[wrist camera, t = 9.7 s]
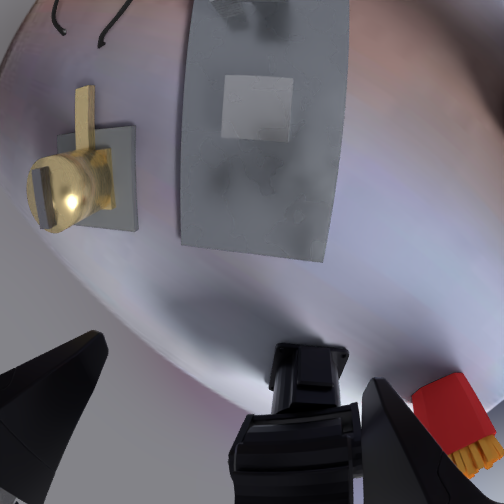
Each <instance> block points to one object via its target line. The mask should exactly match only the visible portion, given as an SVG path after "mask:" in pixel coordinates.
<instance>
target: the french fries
mask: <svg viewBox="0 0 504 504" xmlns="http://www.w3.org/2000/svg"><path fill="white" fill-rule="evenodd" d="M412 402H413V410H414V414H415V416H416V417H417V418H418V419H419V421H420V422H421V423H422V424H423V425H424V427H425V428H426V429H427V430H428V432H429V433H430V434H431V435H432V437H433V438H434V439H435V440H436V442H437V443H438V444H439V445H440V447H441V448H442V449H443V450H442V451H444V452H445V453H446V454H447V455H448V457H449V458H450V459H451V460H452V462H453V463H454V464H455V465H456V466H457V468H458V469H459V470H460V471H461V472H462V473H463V474H464V475H465V476H466V477H467V478H469V479H471V478H472V477H474V476H475V475H474V474H476V473H478V472H479V471H478V470H480V469H481V468H483V467H484V468H485V469H487V470H488V469H490V468H491V467H492V465H493V463H494V462H496V461H497V460H498V459H499V460H500V459H501V458H502V457H503V456H504V449H503V447H502V446H501V445H500V443H499V442H498V441H497V439H496V438H495V434H496V430H495V429H494V426H493V425H492V423H491V421H490V419H489V417H488V415H487V413H486V411H485V410H484V408H483V406H482V404H481V402H480V401H479V399H478V397H477V396H476V394H475V392H474V390H473V389H472V387H471V385H470V384H469V382H468V380H467V379H466V377H465V376H464V374H463V373H452V374H450V375H448V376H446V377H443V378H441V379H439V380H437V381H434V382H432V383H430V384H428V385H426V386H423V387H421V388H420V389H419V390H418V391H417V392H415V393H414V394H413V395H412Z"/></svg>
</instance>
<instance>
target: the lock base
mask: <svg viewBox="0 0 504 504" xmlns="http://www.w3.org/2000/svg"><path fill="white" fill-rule="evenodd" d="M348 52H349V0H194V4H193V11H192V18H191V25H190V33H189V41H188V50H187V60H186V71H185V83H184V96H183V113H182V133H181V170H180V214H181V245H185V246H193V247H201V248H209V249H217V250H225V251H232V252H240V253H248V254H256V255H264V256H272V257H280V258H288V259H296V260H304V261H312V262H320V263H323V259H324V254H325V249H326V243H327V238H328V232H329V227H330V221H331V215H332V209H333V202H334V196H335V189H336V182H337V175H338V168H339V160H340V152H341V143H342V134H343V124H344V114H345V102H346V89H347V73H348Z"/></svg>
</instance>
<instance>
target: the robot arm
mask: <svg viewBox="0 0 504 504" xmlns="http://www.w3.org/2000/svg"><path fill="white" fill-rule="evenodd" d="M280 348H283V349H280ZM342 354H344V355H342ZM107 356H108V347H107V343H106V341H105V337H104V335H103V333H101V332H99V331H96V330H91V331H89V332H87V333H85V334H83V335H81V336H79V337H77V338H75V339H73V340H70V341H69V342H66V343H64V344H62V345H60V346H58V347H56V348H54V349H52V350H50V351H48V352H46V353H44V354H42V355H40V356H38V357H36V358H34V359H32V360H30V361H28V362H25V363H24V364H21V365H20V366H17V367H16V368H13V369H11V370H9V371H7V372H5V373H3V374H1V375H0V504H18V502H17V501H16V500H17V498H18V499H20V500H22V501H23V502H25V503H27V504H44V501H45V498H46V496H47V492H48V490H49V488H50V485H51V482H52V480H53V478H54V475H55V472H56V470H57V467H58V465H59V463H60V460H61V458H62V456H63V454H64V451H65V449H66V446H67V445H68V442H69V440H70V438H71V436H72V434H73V431H74V429H75V427H76V425H77V423H78V421H79V419H80V417H81V415H82V413H83V411H84V409H85V407H86V405H87V403H88V401H89V398H90V397H91V395H92V393H93V391H94V388H95V386H96V384H97V381H98V379H99V376H100V374H101V371H102V368H103V366H104V364H105V361H106V359H107ZM348 357H349V352H348V350H347V349H338V348H326V347H315V346H305V345H295V344H286V343H279V344H277V345H276V349H275V355H274V360H273V366H272V371H271V377H270V382H269V390H271V391H274V394H273V402H272V410H271V414H268V415H254V414H248V415H247V416H246V418H245V420H244V422H243V424H242V426H241V428H240V431H239V433H238V435H237V437H236V439H235V441H234V443H233V446H232V448H231V450H230V452H229V455H228V456H229V459H228V465H229V470H230V475H231V478H232V480H233V483H234V491H235V504H353V478H361V477H363V490H364V504H504V503H498V502H495V501H493V500H491V499H489V498H488V497H486V496H485V495H484V494H483V493H482V492H481V491H480V490H479V489H478V488H477V487H476V486H475V485H474V484H473V483H472V482H471V481H470V480H469V479H468V478H467V477H466V476H465V475H464V474H463V473H462V472H461V471H460V470H459V469H458V468H457V466H456V465H455V464H454V463H453V462H452V460H451V459H450V458H449V457H448V455H447V454H446V453H445V452H444V451H442V450H443V449H442V448H441V447H440V445H439V444H438V443H437V442H436V440H435V439H434V438H433V437H432V435H431V434H430V433H429V432H428V430H427V429H426V428H425V427H424V425H423V424H422V423H421V422H420V421H419V419H418V418H417V417H416V416H415V414H414V413H413V412H412V411H411V409H410V408H409V407H408V406H407V405H406V403H405V402H404V401H403V400H402V398H401V397H400V396H399V395H398V394H397V392H396V391H395V390H394V389H393V388H392V386H391V385H390V384H389V383H388V382H387V380H386V379H385V378H378V377H374V378H372V379H371V380H370V382H369V384H368V385H367V387H366V389H365V391H364V393H363V396H362V424H361V423H360V416H359V409H358V403H357V402H355V403H351V404H350V405H344V406H341V402H340V390H339V378H340V376H341V374H342V372H343V369H344V367H345V365H346V362H347V360H348Z"/></svg>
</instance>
